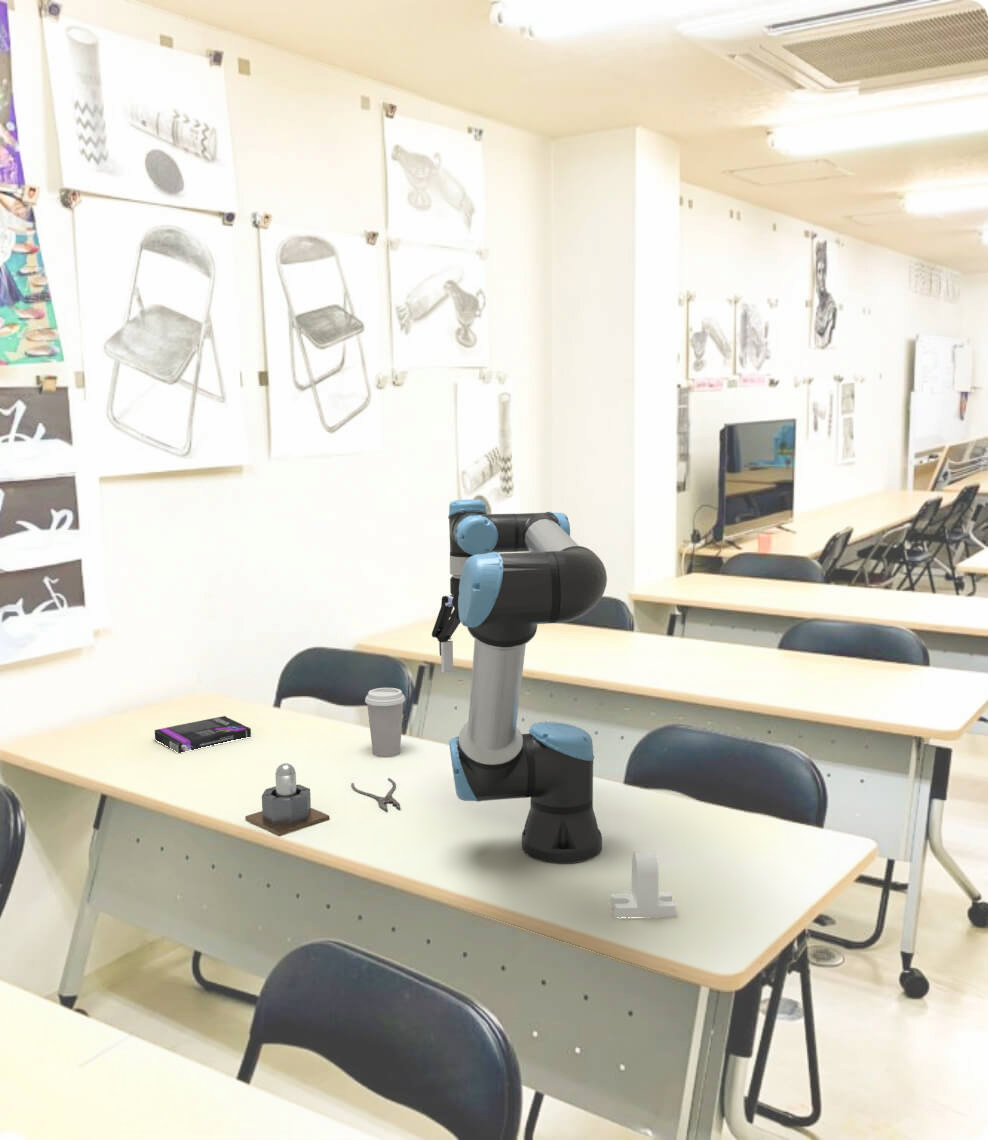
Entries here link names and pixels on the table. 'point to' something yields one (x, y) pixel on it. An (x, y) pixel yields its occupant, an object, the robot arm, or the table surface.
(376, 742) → the coffee cup
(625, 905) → the white bearing bracket
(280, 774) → the piston post
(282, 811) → the ring
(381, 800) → the pliers
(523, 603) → the robot arm
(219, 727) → the box
